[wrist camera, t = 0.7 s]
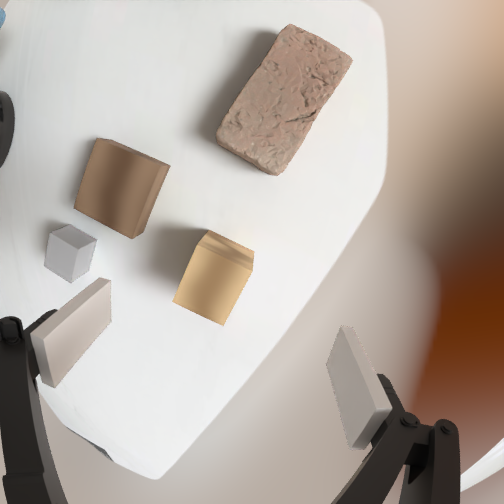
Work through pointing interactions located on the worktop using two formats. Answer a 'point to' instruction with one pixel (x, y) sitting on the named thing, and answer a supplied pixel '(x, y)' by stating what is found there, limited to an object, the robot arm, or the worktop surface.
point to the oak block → (215, 277)
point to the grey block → (69, 252)
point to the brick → (282, 99)
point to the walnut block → (120, 187)
